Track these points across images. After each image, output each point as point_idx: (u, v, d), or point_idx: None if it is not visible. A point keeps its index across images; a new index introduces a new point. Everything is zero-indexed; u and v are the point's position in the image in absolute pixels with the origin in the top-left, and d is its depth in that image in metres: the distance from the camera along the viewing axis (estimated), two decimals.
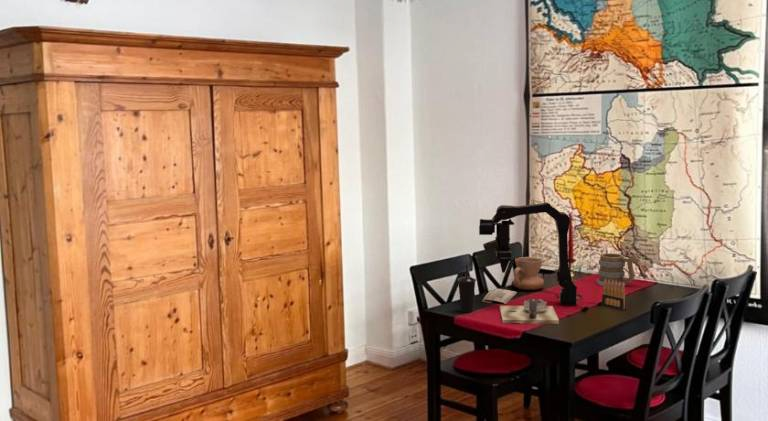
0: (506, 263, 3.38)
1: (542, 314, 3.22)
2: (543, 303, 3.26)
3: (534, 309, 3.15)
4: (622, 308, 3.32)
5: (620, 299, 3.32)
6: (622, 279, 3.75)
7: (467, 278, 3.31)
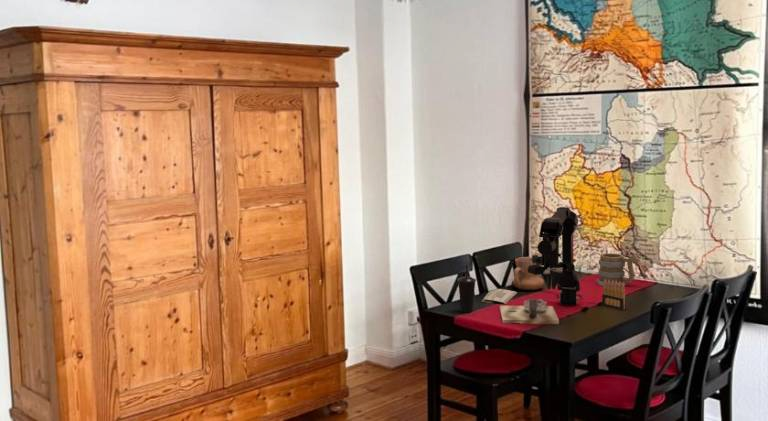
0: (547, 279, 3.13)
1: (542, 314, 3.22)
2: (543, 303, 3.26)
3: (534, 309, 3.15)
4: (622, 308, 3.32)
5: (620, 299, 3.32)
6: (622, 279, 3.75)
7: (467, 278, 3.31)
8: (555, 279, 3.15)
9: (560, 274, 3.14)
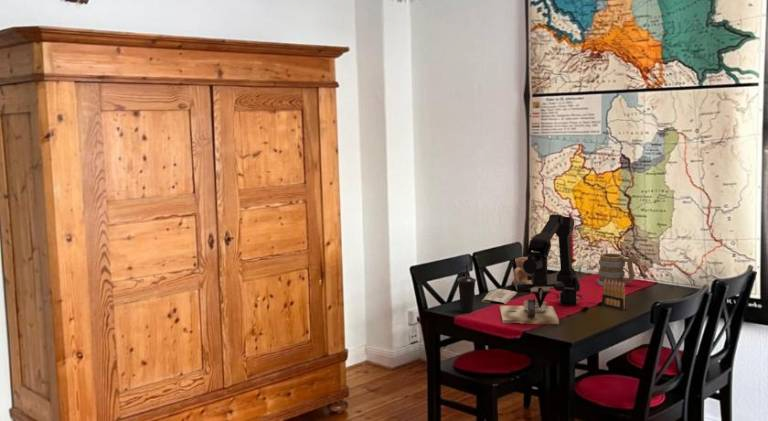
0: None
1: (542, 314, 3.22)
2: (543, 303, 3.25)
3: (532, 309, 3.15)
4: (622, 308, 3.32)
5: (620, 299, 3.32)
6: (622, 279, 3.75)
7: (467, 278, 3.31)
8: (541, 298, 3.15)
9: (544, 293, 3.13)
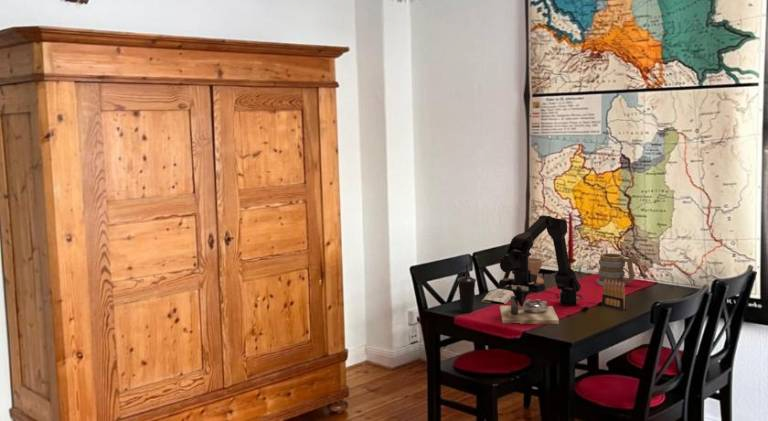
0: None
1: (542, 314, 3.22)
2: (539, 304, 3.24)
3: (513, 306, 3.20)
4: (622, 308, 3.32)
5: (620, 299, 3.32)
6: (622, 279, 3.75)
7: (467, 278, 3.31)
8: None
9: (520, 292, 3.15)
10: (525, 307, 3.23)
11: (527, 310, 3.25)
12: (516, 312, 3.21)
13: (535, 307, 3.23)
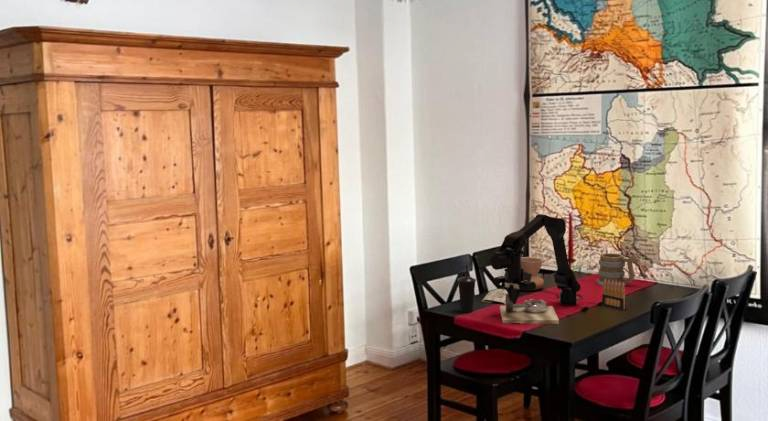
0: None
1: (542, 314, 3.22)
2: (536, 304, 3.24)
3: (506, 303, 3.25)
4: (622, 308, 3.32)
5: (620, 299, 3.32)
6: (622, 279, 3.75)
7: (467, 278, 3.31)
8: None
9: (511, 290, 3.19)
10: (521, 306, 3.26)
11: (524, 309, 3.27)
12: (509, 309, 3.25)
13: (531, 307, 3.24)
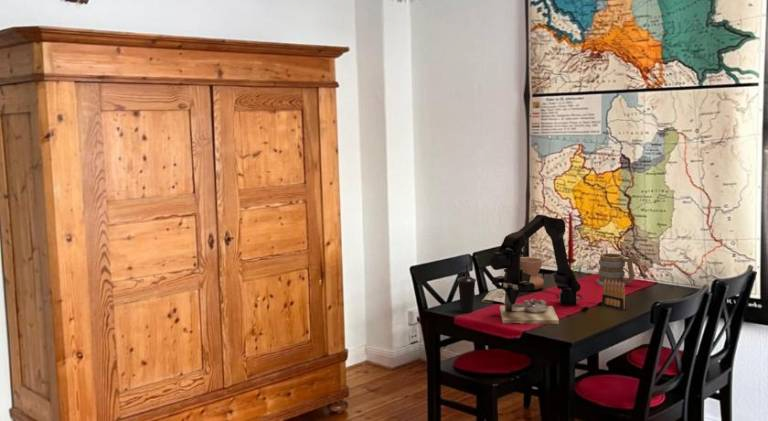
0: None
1: (542, 314, 3.22)
2: (535, 304, 3.24)
3: (505, 303, 3.26)
4: (622, 308, 3.32)
5: (620, 299, 3.32)
6: (622, 279, 3.75)
7: (467, 278, 3.31)
8: None
9: (510, 290, 3.19)
10: (521, 305, 3.26)
11: (524, 309, 3.27)
12: (508, 309, 3.26)
13: (530, 307, 3.24)
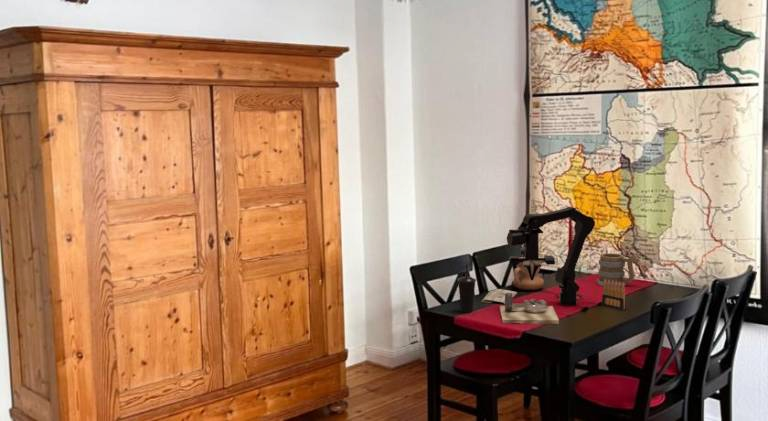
0: None
1: (542, 314, 3.22)
2: (535, 304, 3.24)
3: (505, 303, 3.26)
4: (622, 308, 3.32)
5: (620, 299, 3.32)
6: (622, 279, 3.75)
7: (467, 278, 3.31)
8: (533, 271, 3.36)
9: (536, 267, 3.34)
10: (521, 305, 3.26)
11: (524, 309, 3.27)
12: (508, 309, 3.26)
13: (530, 307, 3.24)
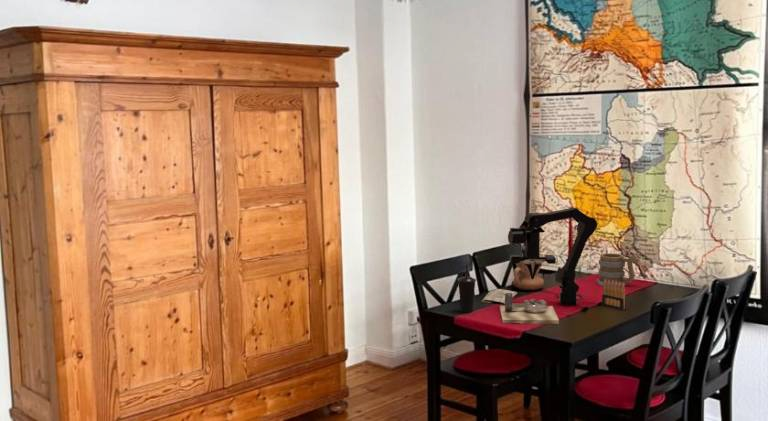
0: None
1: (542, 314, 3.22)
2: (535, 304, 3.24)
3: (505, 303, 3.26)
4: (622, 308, 3.32)
5: (620, 299, 3.32)
6: (622, 279, 3.75)
7: (467, 278, 3.31)
8: (533, 270, 3.37)
9: (536, 265, 3.35)
10: (521, 305, 3.26)
11: (524, 309, 3.27)
12: (508, 309, 3.26)
13: (530, 307, 3.24)
